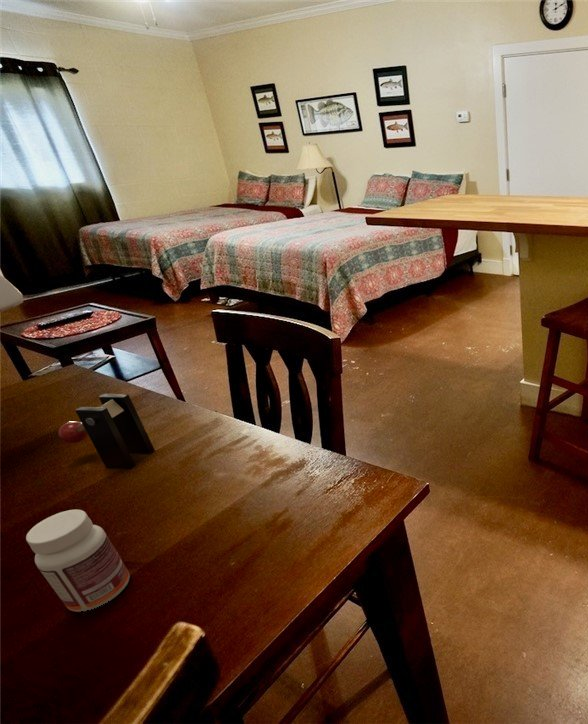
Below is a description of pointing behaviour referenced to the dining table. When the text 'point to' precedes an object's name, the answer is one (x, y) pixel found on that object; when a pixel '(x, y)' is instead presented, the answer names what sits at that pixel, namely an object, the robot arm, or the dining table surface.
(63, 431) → the lever
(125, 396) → the bracket
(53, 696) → the dining table surface
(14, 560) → the dining table surface
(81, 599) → the pill bottle
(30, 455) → the dining table surface
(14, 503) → the dining table surface
